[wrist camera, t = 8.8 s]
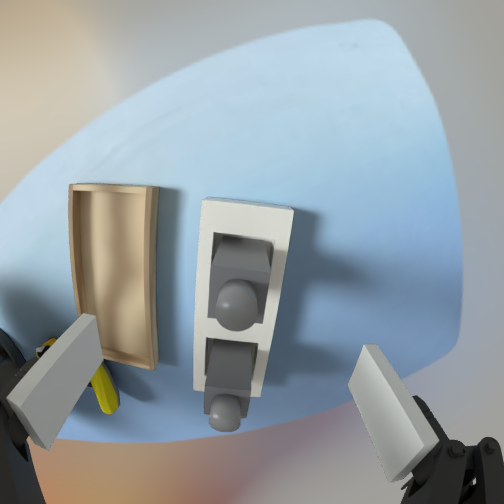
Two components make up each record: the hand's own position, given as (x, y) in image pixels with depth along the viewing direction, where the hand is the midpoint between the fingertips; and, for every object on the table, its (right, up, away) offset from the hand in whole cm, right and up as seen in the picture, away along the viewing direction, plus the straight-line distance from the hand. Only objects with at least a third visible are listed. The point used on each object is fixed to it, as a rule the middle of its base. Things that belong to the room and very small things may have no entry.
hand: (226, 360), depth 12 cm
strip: (-1, -3, +18) cm, 18 cm away
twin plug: (-1, -6, +19) cm, 20 cm away
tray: (-14, +2, +17) cm, 22 cm away
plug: (0, +4, +15) cm, 16 cm away
